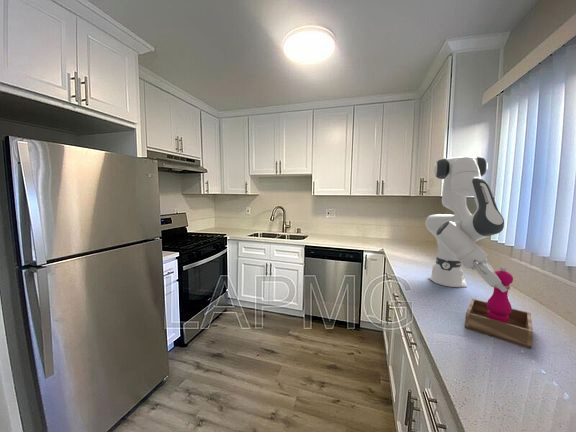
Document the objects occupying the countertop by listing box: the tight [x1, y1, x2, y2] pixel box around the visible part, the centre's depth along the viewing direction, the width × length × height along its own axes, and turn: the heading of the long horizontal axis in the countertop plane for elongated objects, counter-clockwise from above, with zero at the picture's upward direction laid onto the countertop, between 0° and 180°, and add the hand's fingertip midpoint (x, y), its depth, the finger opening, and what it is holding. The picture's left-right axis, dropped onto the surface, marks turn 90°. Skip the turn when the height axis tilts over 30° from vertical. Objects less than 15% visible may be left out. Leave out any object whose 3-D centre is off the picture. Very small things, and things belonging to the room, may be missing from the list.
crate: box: [464, 298, 534, 350], centre depth 94 cm, size 18×18×6 cm
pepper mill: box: [486, 266, 514, 323], centre depth 93 cm, size 7×7×20 cm
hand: (503, 288), depth 92 cm, fingers closed on pepper mill, 5 cm apart
